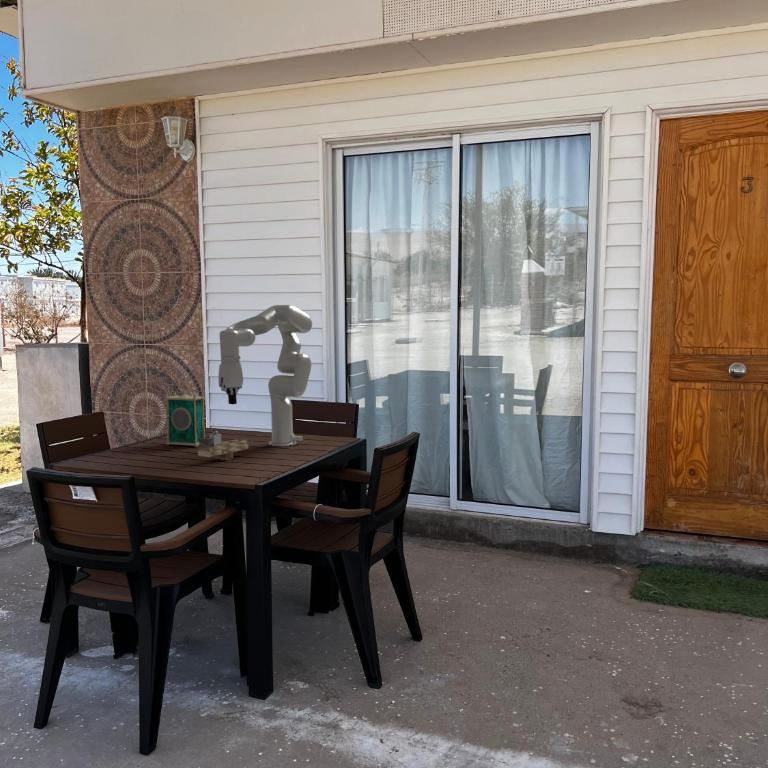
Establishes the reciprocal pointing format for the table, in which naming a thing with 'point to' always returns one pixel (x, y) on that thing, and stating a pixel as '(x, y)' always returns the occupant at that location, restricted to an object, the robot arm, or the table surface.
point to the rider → (215, 438)
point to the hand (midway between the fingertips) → (232, 403)
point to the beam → (221, 448)
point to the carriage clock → (185, 418)
